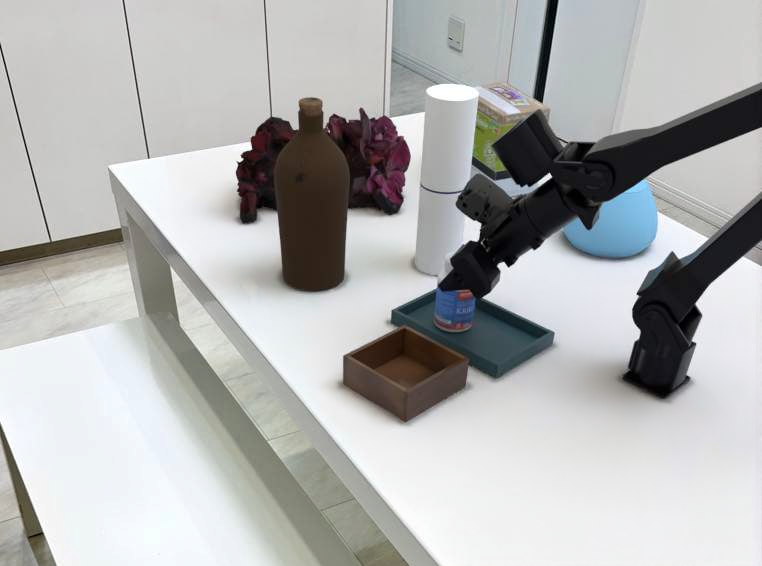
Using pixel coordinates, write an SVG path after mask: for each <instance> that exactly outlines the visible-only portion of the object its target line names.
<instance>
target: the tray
mask: <svg viewBox="0 0 762 566" xmlns="http://www.w3.org/2000/svg"><path fill="white" fill-rule="evenodd" d="M436 293H437V287H435V288H434V289H432V290H429V291H428V292H426V293H424V294H421V295H420V296H417V297H415V298H414V299H411V300H409V301H407V302H405V303H403V304H401V305H399V306H397V307H395V308H393V309H391V311H390V313H391V314H390V324H393V325H394V326H396V327H397V328H399V327H401V326H403V325H406V326H408V327H410V328H412V329H414V330H416V331H418V332H420V333H421V334H423V335H425V336H427V337H429V338H431V339H433V340H435V341H437V342H439V343H440V344H442V345H444V346H446V347H448V348H450V349H452V350H454V351H456V352H458V353H459V354H461V355H463V356H465V357H467V358H469V365H470V366H471V367H473V368H475V369H477V370H479V371H481V372H482V373H485V374H487V375H488V376H491V377H492V378H494V379H498V378H500V377H502V376H503V375H505V374H507V373H509V372H510V371H512V370H513V369H515V368H517V367H518V366H520V365H521V364H523V363H525V362H527V361H528V360H530V359H532V358H534V357H535V356H537V355H538V354H540V353H542V352H543V351H545V350H548V349H549V348H550V347H552V346H553V345H554V341H555V334H556V332H555V331H553V330H551V329H549V328H547V327H545V326H542V325H540V324H538V323H536V322H534V321H532V320H530V319H527V318H525V317H523V316H522V315H519V314H517V313H516V312H514V311H511V310H510V309H507V308H505V307H503V306H501V305H498V304H496V303H495V302H493V301H490V300H488V299H486V298H484V297H483V298H481V299H480V300H479V299H477V298H476V299H475V307H474V315H473V323H472V326H471V327H470V328H469V329H468V330H466V331H463V332H446V331H443V330H441V329H439V328H438V327H437V326H436V325H435V322H434V316H435V305H436Z"/></svg>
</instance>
